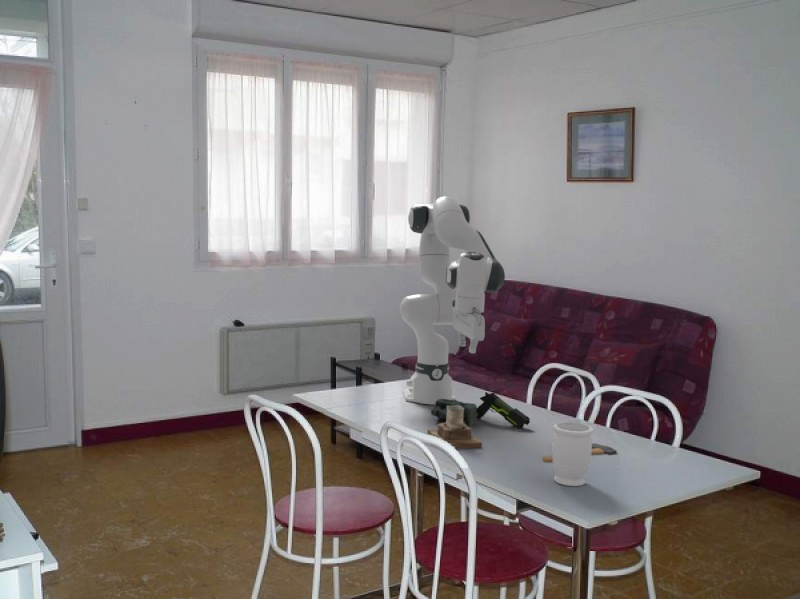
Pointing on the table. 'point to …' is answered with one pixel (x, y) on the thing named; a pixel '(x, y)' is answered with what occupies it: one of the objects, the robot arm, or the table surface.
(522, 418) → the pistol
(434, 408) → the sculpture
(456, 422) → the maple post
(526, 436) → the table surface
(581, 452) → the jar
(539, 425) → the table surface
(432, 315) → the robot arm
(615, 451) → the hand axe
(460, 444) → the walnut base
